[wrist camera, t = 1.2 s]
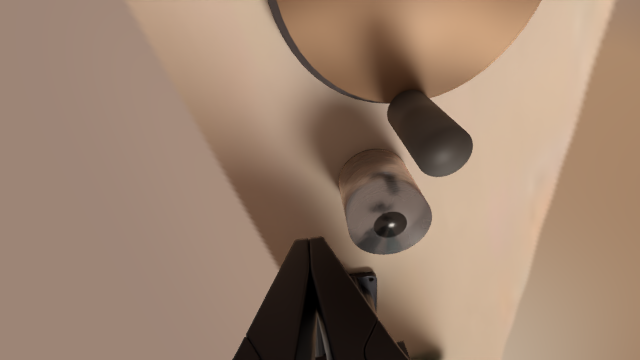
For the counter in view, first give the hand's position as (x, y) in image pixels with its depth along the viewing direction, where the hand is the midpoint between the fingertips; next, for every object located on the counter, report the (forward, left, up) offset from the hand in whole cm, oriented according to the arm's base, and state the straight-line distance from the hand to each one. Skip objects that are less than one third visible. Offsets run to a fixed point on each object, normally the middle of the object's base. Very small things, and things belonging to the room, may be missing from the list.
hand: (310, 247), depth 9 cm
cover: (-6, -4, -12) cm, 14 cm away
